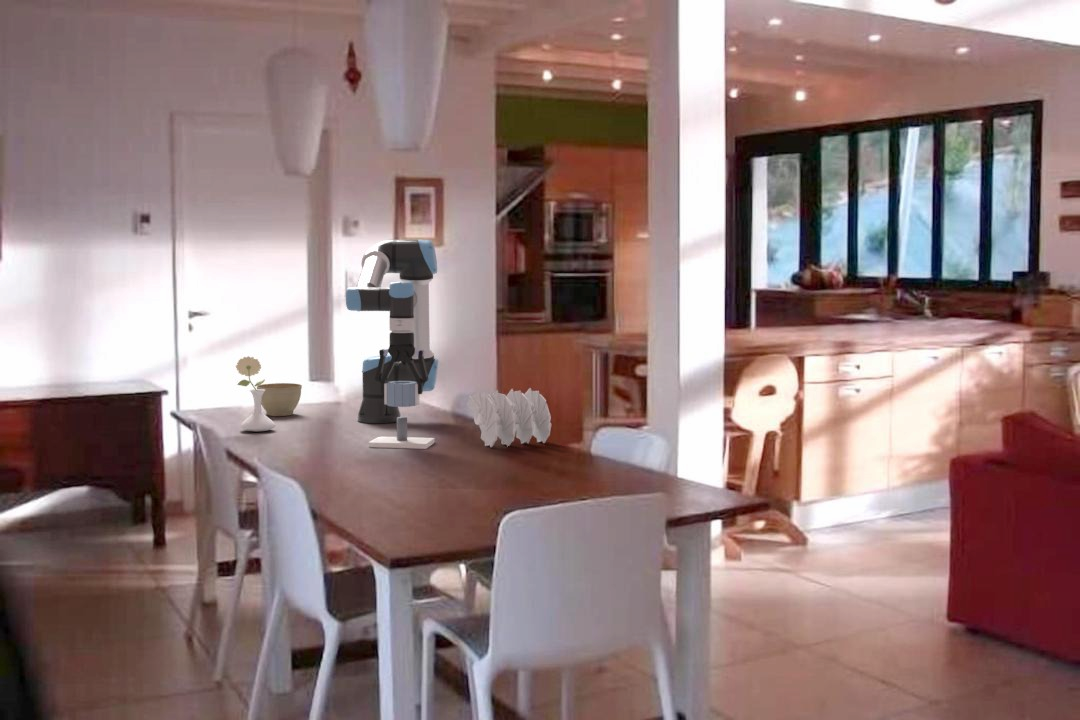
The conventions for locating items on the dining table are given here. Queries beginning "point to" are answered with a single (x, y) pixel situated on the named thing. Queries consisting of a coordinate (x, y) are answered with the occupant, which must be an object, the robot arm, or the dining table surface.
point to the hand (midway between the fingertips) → (401, 404)
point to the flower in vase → (257, 419)
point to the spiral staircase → (511, 416)
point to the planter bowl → (280, 398)
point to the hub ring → (401, 393)
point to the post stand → (402, 439)
